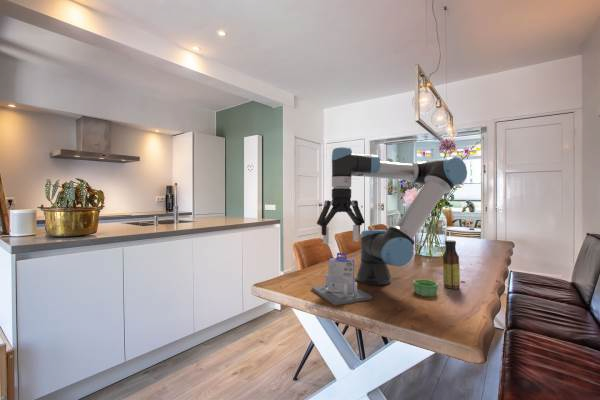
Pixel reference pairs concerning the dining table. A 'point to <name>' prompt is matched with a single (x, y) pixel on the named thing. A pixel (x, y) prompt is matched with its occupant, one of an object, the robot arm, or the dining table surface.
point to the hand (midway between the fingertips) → (341, 242)
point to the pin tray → (341, 294)
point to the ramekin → (425, 287)
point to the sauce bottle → (451, 266)
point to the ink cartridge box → (340, 274)
